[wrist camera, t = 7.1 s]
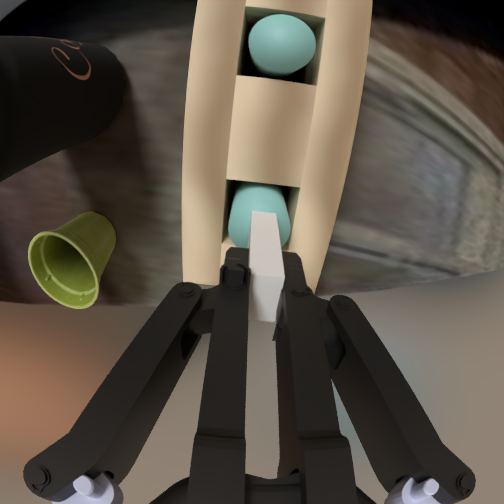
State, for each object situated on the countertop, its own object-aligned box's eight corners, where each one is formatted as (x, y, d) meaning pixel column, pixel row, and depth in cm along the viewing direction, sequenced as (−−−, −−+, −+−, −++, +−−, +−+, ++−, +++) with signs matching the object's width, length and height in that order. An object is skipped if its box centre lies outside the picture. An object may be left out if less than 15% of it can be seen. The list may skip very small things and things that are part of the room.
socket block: (200, 231, 31) (183, 281, 23) (221, -3, 17) (205, -41, 10) (300, 241, 31) (314, 294, 23) (338, 13, 18) (373, -15, 10)
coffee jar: (149, 68, 21) (12, 61, 6) (99, 155, 26) (-23, 237, 10) (78, 32, 18) (-54, 27, 3) (39, 115, 22) (-83, 165, 7)
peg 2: (234, 206, 26) (226, 252, 19) (238, 164, 24) (230, 196, 17) (277, 211, 26) (284, 258, 19) (283, 169, 24) (295, 204, 17)
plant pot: (55, 217, 30) (16, 253, 22) (101, 183, 28) (58, 217, 20) (93, 273, 34) (64, 316, 27) (143, 249, 32) (115, 296, 25)
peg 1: (248, 76, 21) (245, 67, 14) (253, 35, 19) (252, 10, 12) (294, 82, 21) (311, 77, 14) (299, 41, 19) (319, 20, 12)
